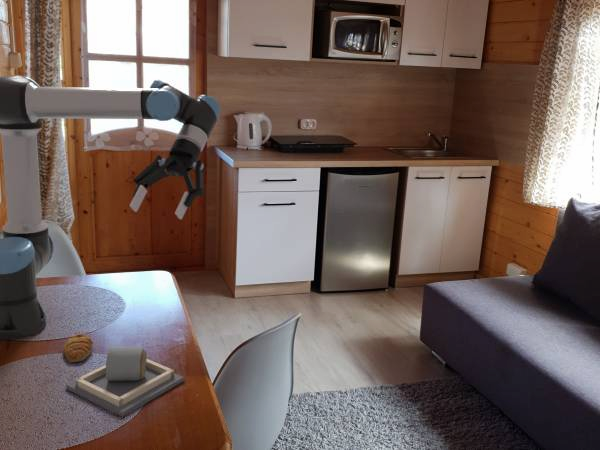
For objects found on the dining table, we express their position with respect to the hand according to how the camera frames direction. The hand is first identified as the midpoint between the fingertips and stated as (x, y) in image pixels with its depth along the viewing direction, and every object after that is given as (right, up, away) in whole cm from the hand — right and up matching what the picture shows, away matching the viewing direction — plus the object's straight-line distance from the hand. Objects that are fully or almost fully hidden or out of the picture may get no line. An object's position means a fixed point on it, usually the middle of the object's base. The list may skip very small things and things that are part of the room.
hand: (155, 212), depth 150 cm
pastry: (-18, -35, -2) cm, 40 cm away
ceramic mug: (-3, -38, -13) cm, 40 cm away
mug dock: (-3, -39, -15) cm, 42 cm away
